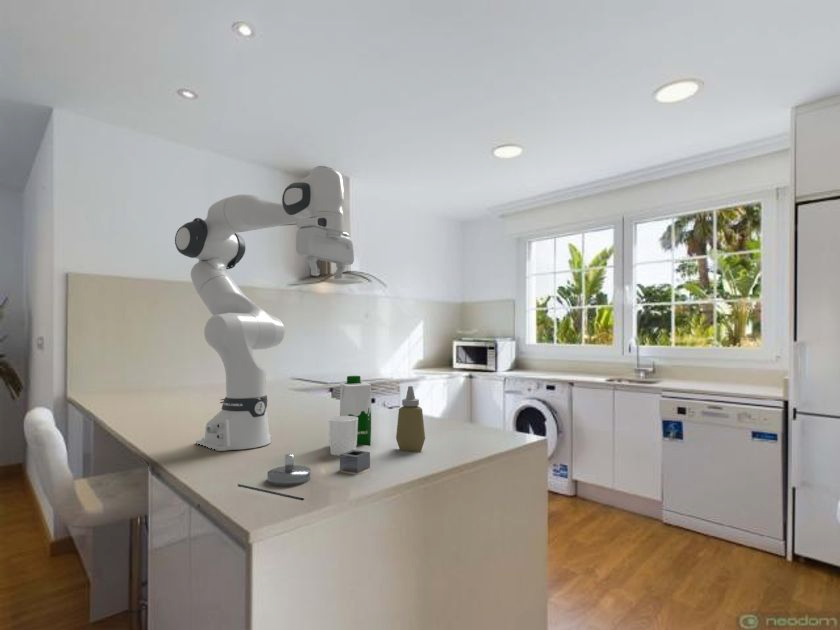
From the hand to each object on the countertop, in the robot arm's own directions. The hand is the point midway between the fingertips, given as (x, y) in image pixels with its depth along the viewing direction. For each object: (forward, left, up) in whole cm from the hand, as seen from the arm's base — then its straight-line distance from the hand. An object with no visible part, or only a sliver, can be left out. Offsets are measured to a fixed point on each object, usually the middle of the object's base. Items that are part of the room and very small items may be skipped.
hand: (327, 277), depth 122 cm
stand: (+15, -8, -48) cm, 51 cm away
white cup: (+3, +3, -48) cm, 48 cm away
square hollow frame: (+15, -8, -47) cm, 50 cm away
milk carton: (-1, +14, -48) cm, 50 cm away
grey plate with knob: (+7, -21, -48) cm, 53 cm away
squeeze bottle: (+17, +15, -48) cm, 53 cm away
